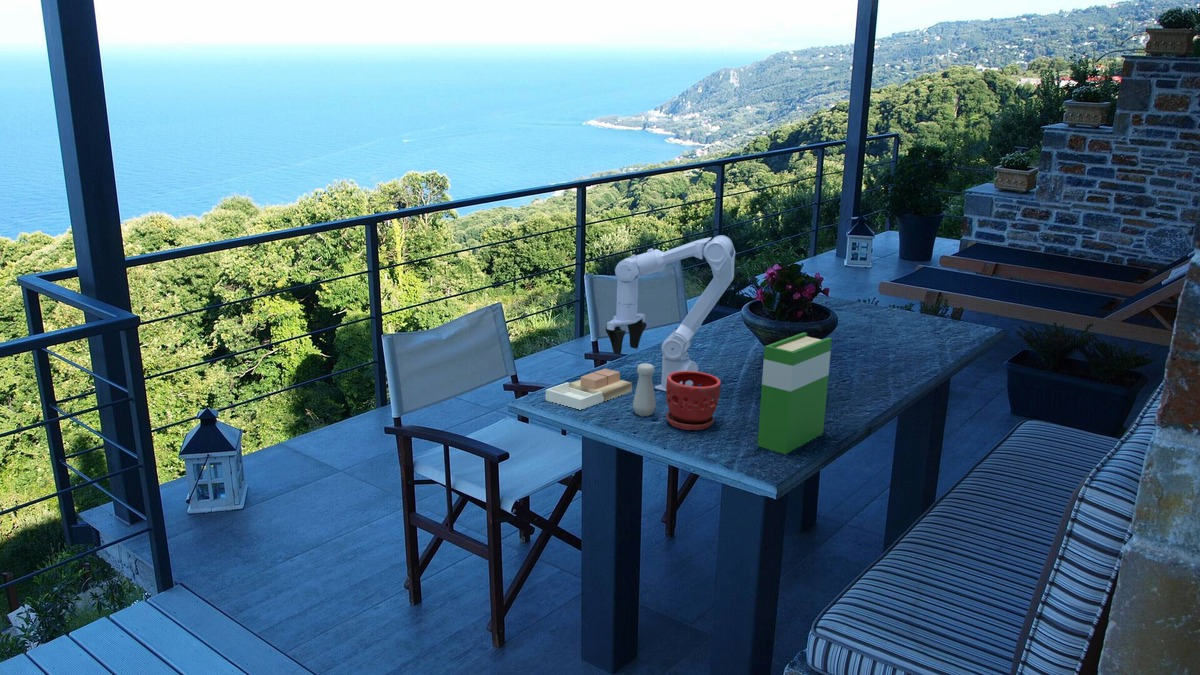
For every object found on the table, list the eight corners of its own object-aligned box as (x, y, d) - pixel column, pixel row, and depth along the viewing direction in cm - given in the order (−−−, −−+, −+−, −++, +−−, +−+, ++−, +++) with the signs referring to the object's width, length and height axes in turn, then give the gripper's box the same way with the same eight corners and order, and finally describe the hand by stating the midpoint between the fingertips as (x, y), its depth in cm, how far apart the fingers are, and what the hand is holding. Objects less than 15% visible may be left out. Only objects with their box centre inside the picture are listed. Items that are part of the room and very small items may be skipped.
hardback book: (795, 426, 231) (803, 332, 224) (823, 434, 226) (831, 338, 220) (757, 445, 218) (764, 346, 211) (785, 454, 213) (793, 352, 207)
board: (631, 391, 254) (632, 382, 253) (603, 402, 245) (604, 393, 244) (597, 382, 261) (597, 373, 260) (569, 392, 252) (569, 383, 251)
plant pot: (680, 436, 222) (683, 388, 219) (655, 418, 234) (657, 372, 231) (728, 430, 227) (731, 383, 224) (701, 412, 239) (703, 367, 236)
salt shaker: (639, 419, 233) (641, 369, 230) (628, 412, 238) (630, 362, 235) (659, 415, 236) (661, 366, 232) (648, 408, 241) (650, 360, 237)
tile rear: (619, 380, 254) (619, 372, 254) (608, 385, 251) (608, 376, 250) (605, 377, 257) (605, 368, 257) (593, 381, 254) (593, 372, 253)
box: (603, 402, 245) (603, 391, 244) (580, 411, 238) (580, 399, 237) (568, 392, 252) (568, 381, 251) (545, 400, 245) (545, 389, 244)
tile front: (606, 385, 250) (607, 376, 250) (595, 389, 247) (595, 380, 246) (592, 381, 253) (592, 372, 253) (580, 385, 250) (580, 376, 249)
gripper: (631, 296, 263) (630, 342, 266) (598, 304, 252) (597, 353, 255) (651, 300, 258) (650, 347, 262) (619, 308, 247) (617, 358, 251)
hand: (625, 350), depth 258 cm, fingers open, 7 cm apart
